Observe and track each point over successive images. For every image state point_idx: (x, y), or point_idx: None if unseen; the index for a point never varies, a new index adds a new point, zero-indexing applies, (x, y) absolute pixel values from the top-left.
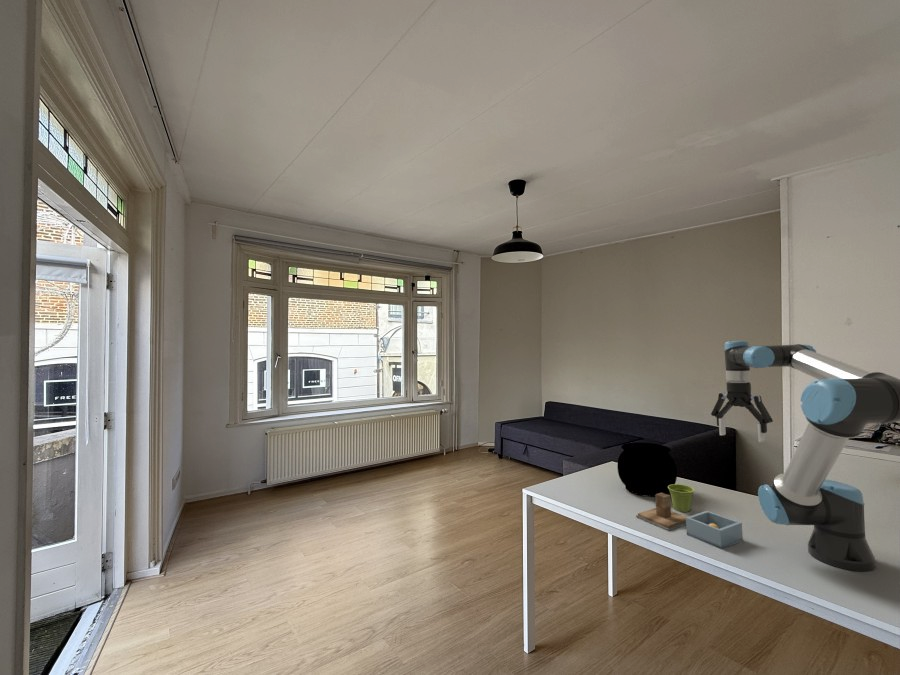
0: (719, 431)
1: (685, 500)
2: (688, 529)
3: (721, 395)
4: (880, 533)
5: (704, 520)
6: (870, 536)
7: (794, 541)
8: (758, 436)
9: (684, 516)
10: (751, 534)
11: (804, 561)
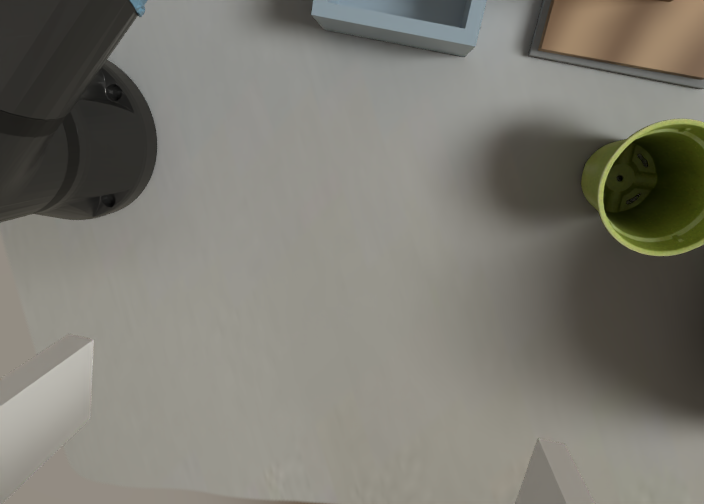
0: (583, 482)
1: (612, 151)
2: None
3: None
4: None
5: (468, 3)
6: None
7: (206, 169)
8: (42, 373)
9: (569, 45)
10: (321, 118)
11: None
